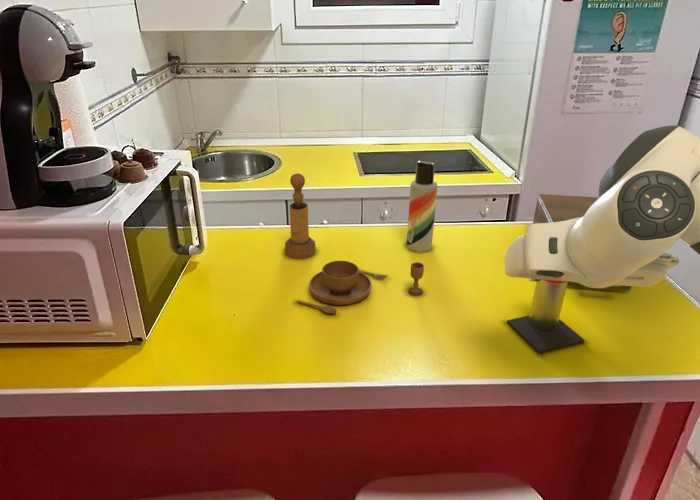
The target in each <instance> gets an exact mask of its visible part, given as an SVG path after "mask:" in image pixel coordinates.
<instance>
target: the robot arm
mask: <svg viewBox="0 0 700 500" xmlns="http://www.w3.org/2000/svg"><path fill="white" fill-rule="evenodd" d="M598 197H599V199H598V200H596V201H595V202H594V203H593V205H592V206H591V207H590V208H589V209H588V210H587V212H586V213H585V215H584V216H583V217H579V218H574V219H570V220H566V221H560V222H551V223H539V224H533V223H531V224H529V225H528V226H527V229H526V234H524V235H520V236H518V237H517V238H516V239H515V240H514V241H512V242H511V244H510V246H508V248H507V249H506V250H505V254H504V274H505V276H506V277H510V278H518V279H528V281H529V282H535V283H536V282H539V281H540V280H541V279H544V280H557V281H570V282H576V283H579V284H582V285H584V286H587V287H586V288H591V289H605V288H606V287H610V286H612V285H623V286H632V287H636V288H649V287H653V286H655V285H657V284H659V283H660V282H661V281H662V280H663V279H665V277H666V275H667V270H669V269H673V268H674V267H676V266H678V265H679V264H680V259H679V257H678V256H673V254H671V253H668V252H667V251H668V250H669V249H670V248H672V247H673V246H674V245H675V244H676V243H677V242H678V241H679V240H680V239H681V240H682V241H684V242H685V243H686V244H688V245H689V247H690V248H691V249H692V250H693V251H694V252H695V253H696V254H698V255H699V256H700V137H699V136H697V134H695V133H693V132H691V131H690V130H688V129H686V128H684V127H682V126H680V125H677V124H675V125H674V124H673V125H664V126H660V127H656V128H651V129H648V130H645V131H643V132H641V133H640V134H638V136H637V137H636V138H635V139H633V140H632V142H630V144H628V146H627V147H626V148H625V149H624V150H623V151H622V152H621V153H620V155H619V156H618V157H617V159H616V160H615V161H614V163H613V164H612V165H610V167H609V168H608V169H607V170H606V171H605V173H604V174H603V175H602V177H601V178H600V180H599V186H598ZM666 252H667V253H666Z"/></svg>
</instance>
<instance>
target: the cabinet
mask: <svg viewBox="0 0 700 500" xmlns="http://www.w3.org/2000/svg"><path fill="white" fill-rule="evenodd" d="M598 199H599V196H598V197H597V196H581V195H580V196H579V195H563V194H546V193H545V194H544V193H538V194H537V199H536V206H535V210H534V216H533V219H532V220H533V222H532V224H539V223H551V222H560V221H566V220H570V219H574V218H579V217H583V216H584V215H585V213H586V212H587V210H588V209H589V208H590V207H591V206H592V205H593V203H594V202H595V201H596V200H598Z"/></svg>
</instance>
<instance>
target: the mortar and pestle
mask: <svg viewBox="0 0 700 500" xmlns="http://www.w3.org/2000/svg"><path fill="white" fill-rule="evenodd" d="M289 183H290V184H291V187H292V188H293V191H294V193H293V194H292V199H293V202H292V203H290V204H289V206H288V208H289V227H290V237H289V238H288V239H287V240H286V241H285V243H284V253H285V255H286V256H287V257H288V258H291V259H296V260H303V259H309V258H311V257H313V256H314V255H315V254H316V251H317V249H316V240H314V239H313V238H312V237H310V232H309V231H310V230H309V205H308V203H306V202H304V195H305V194H304V193H302V190H303V188H304V186H305V183H306V178H305V176H304V175H303V174H302V173H299V172H298V173H297V172H296V173H294V174H292V175H291V177H290V179H289Z"/></svg>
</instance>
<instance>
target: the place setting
mask: <svg viewBox="0 0 700 500" xmlns="http://www.w3.org/2000/svg"><path fill="white" fill-rule="evenodd" d="M424 269H425V265H424V263H423V262H422V263H421V262H411V264H410V277H411V278H412V279H413V284H412V286H413V287H410V288H408V289H407V293H408V294H409V295H410V296H414V297H419V296H421V295H423V293H424V291H423V289H421V288H420V287H419V280H421V279H422V278H423V276H424V271H425V270H424ZM368 275H371V276H372V277H373V278H375V279H381V278H388V276H389V275H388V274H375V273H373V272H369V271H365V270H361V269H359V266H358V265H357V264H356V263H354V262H351V261H349V260H333V261H329V262H328V263H326V264H324V265H323V266H322V268H321V271H319V272H316V273H315V274H314V275H312V277H311V278H310V280H309V283H308V285H309V291H310V292H311V294H312V295H313V297H315V299H317V300H319V301H321V302H323V303H326V304H329V305H335V306H346V305H352V304H355V303H358V302H360V301H362V300H364V299H365V298H366V297H367V296H368V295H369V294H370V292H371V289H372V280H371V278H370V277H369V276H368ZM296 303H299V304H301V305H306V306H311V307H314V308H318V309H319V310H320V311H322V312H323V313H326V314H335V313H337V312H338V310H337V308H335V307H333V306H327V305H326V306H324V305H323V306H321V305H317V304H314V303H312V302H307V301H302V300H297V301H296Z"/></svg>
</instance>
